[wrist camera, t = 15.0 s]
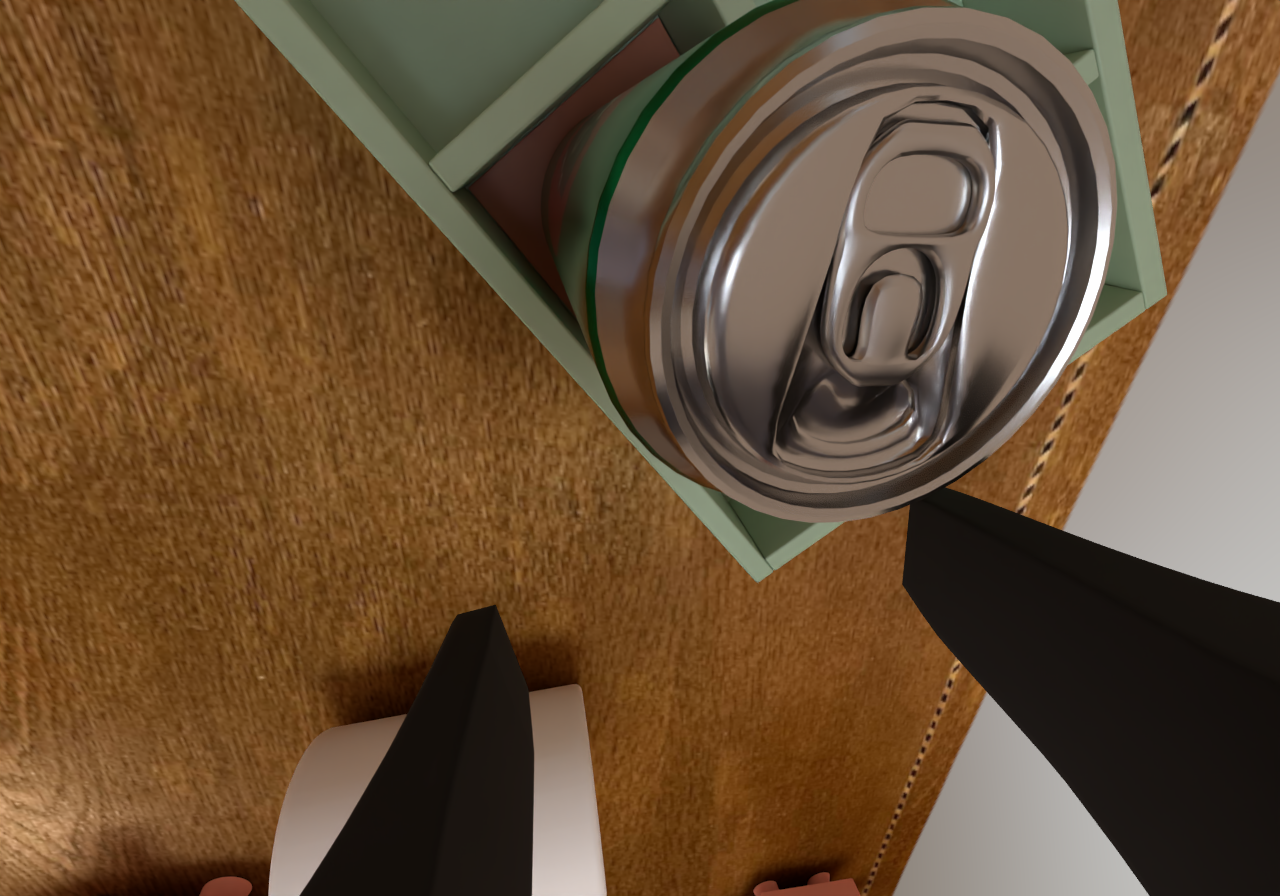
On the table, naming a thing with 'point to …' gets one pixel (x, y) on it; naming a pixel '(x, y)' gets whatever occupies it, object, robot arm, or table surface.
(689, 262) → the soda can
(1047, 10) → the tray
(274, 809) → the table surface
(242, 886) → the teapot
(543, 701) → the mug
